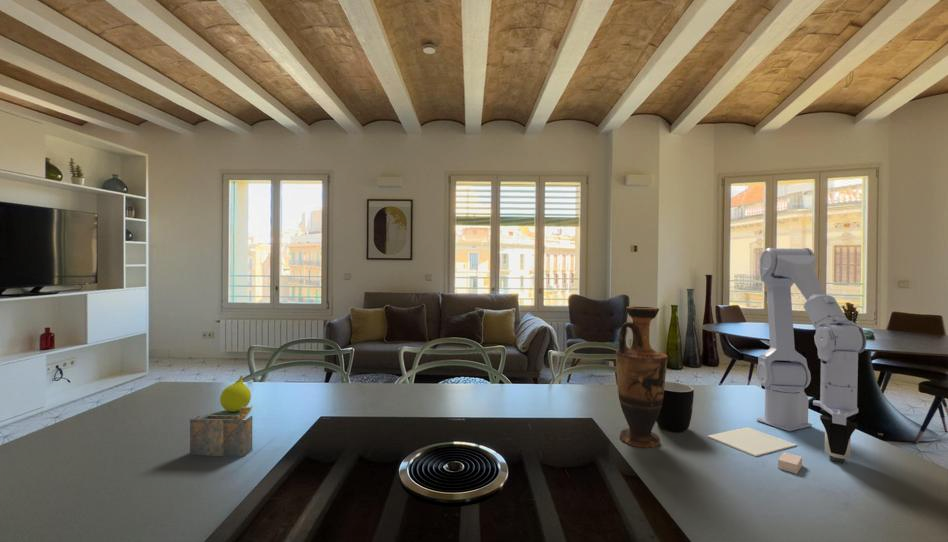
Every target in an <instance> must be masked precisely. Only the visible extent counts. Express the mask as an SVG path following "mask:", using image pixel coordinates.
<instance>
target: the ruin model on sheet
mask: <svg viewBox="0 0 948 542" xmlns="http://www.w3.org/2000/svg"><path fill="white" fill-rule="evenodd" d="M252 408H253V405H251V406H250V407H249V406H246V407H243V406H242V407H241V408H240V411H239V414H238V415H223V414H221V415H219V414H218V415H217V414H208V415H207V417H208V418H201V414H198V415H195V416H194V417H192V418H190V419H189V455H190V456H220V457H221V456H222V457H247V455H249V454H250V453H251V452H252V451H253V415H250V416H249V414H250V413H251V411H252ZM248 416H249V417H248Z"/></svg>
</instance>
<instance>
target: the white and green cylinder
mask: <svg viewBox="0 0 948 542" xmlns="http://www.w3.org/2000/svg"><path fill="white" fill-rule="evenodd" d="M846 421H848V420H846ZM849 422H850V421H849ZM851 437H852V436H851ZM851 437H850V439H849V443H848V447H847V450H846V453H845V455H844V456H843V455H839V454H834V453H831V451H830V448H829V442H828V437H827V433H826V430H825V429H824V454H826V455H827V456H829V460H830V461H832V462H834V463H838V464H845V463H846V460H850V459H851V442H852V441H851V440H852V439H851Z"/></svg>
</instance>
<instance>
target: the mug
mask: <svg viewBox="0 0 948 542" xmlns="http://www.w3.org/2000/svg"><path fill="white" fill-rule="evenodd" d="M694 390H695V389H694V387H692V386H690V385H689V384H686V383H681V382H675V381H665V387H664V396H663V402H662V407H661V410H660V413H659V416H658V418H657V420H656V422H655V423H656V424H657V425H658V427H659V428H660V429H661V430H664V431H665V432H670V433H678V434H679V433H685V432H687V431H688V429H689V427H690V424H691V421H692V415H693V408H694V398H695V397H694V396H695V395H694V394H695V393H694V392H695V391H694Z"/></svg>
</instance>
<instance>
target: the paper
mask: <svg viewBox="0 0 948 542" xmlns="http://www.w3.org/2000/svg"><path fill="white" fill-rule="evenodd" d="M706 437H707V438H708V439H712V440H714V441H716V442H718V443H721V444H723V445H726V446H728V447H730V448H733V449H736V450H738V451H740V452H743V453H746V454H748V455H750V456H752V457H759V456H764V455H767V454H771V453H775V452H780V451H783V450H786V449H792V448H793V447H795V448H796V447H797V446H798V444H797V443H793V442H790V441H788V440H785V439H783V438H779V437H777V436H773V435H771V434H768V433H765V432H764V431H763V432H762V431H759V430H757V429H754V428H752V427H749V426H747V427H742V428H738V429H732V430H727V431H723V432H722V431H721V432H719V433H718V432H717V433H714V434H709V435H708V434H707V435H706Z"/></svg>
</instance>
